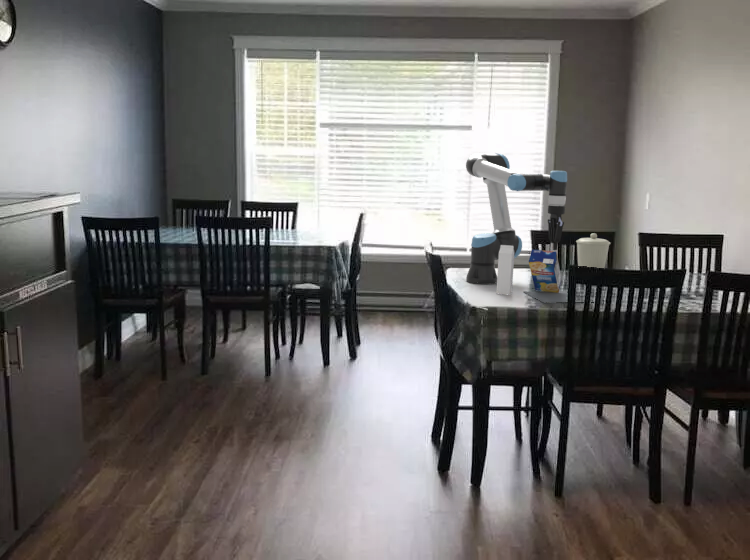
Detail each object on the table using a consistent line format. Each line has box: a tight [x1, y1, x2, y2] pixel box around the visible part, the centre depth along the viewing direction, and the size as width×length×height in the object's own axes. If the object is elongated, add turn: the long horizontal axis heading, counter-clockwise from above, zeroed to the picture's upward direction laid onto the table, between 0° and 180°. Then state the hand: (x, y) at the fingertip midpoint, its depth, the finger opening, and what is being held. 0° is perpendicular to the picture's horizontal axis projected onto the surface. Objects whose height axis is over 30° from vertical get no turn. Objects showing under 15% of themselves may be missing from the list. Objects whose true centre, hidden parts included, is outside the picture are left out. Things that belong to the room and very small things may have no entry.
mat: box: [523, 290, 568, 304], centre depth 329 cm, size 26×24×1 cm
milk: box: [495, 245, 515, 296], centre depth 333 cm, size 6×6×22 cm
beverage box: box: [528, 249, 562, 293], centre depth 333 cm, size 7×11×22 cm
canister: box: [575, 232, 611, 269], centre depth 404 cm, size 18×18×21 cm
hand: (553, 256), depth 338 cm, fingers closed
